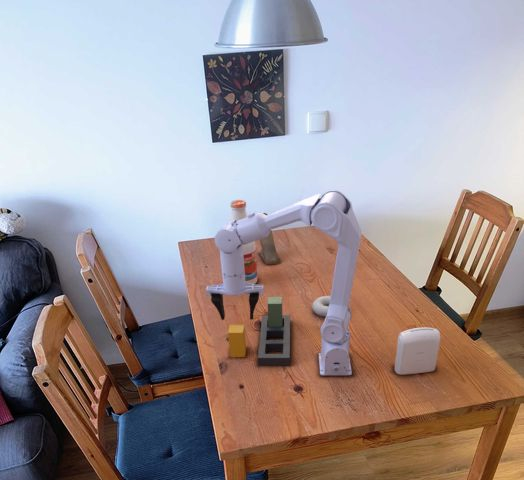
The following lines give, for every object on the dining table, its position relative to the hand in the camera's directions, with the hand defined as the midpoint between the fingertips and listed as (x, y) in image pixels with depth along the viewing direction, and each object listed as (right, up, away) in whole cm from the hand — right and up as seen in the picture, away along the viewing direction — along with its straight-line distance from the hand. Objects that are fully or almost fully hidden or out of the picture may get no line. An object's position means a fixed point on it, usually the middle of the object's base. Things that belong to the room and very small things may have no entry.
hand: (237, 317), depth 128 cm
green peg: (+11, -3, +13) cm, 17 cm away
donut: (+27, +3, +21) cm, 34 cm away
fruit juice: (0, +15, +40) cm, 43 cm away
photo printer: (+46, -14, -5) cm, 48 cm away
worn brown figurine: (+9, +26, +55) cm, 62 cm away
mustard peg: (0, -9, +5) cm, 11 cm away
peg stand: (+10, -6, +8) cm, 15 cm away
